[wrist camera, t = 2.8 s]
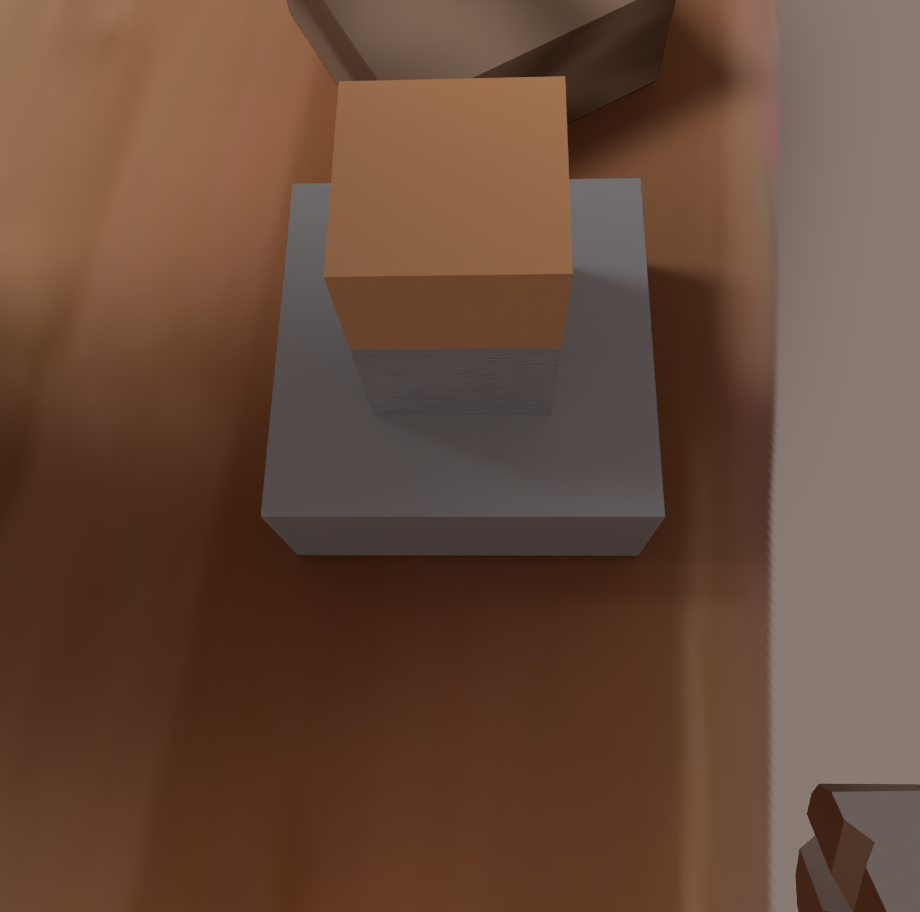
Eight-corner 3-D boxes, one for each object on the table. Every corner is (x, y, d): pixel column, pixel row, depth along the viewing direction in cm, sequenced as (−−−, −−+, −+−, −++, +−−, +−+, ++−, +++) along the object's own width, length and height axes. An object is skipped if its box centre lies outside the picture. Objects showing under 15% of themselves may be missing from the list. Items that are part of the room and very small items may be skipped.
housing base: (373, 415, 26) (349, 349, 22) (381, 263, 28) (360, 175, 24) (551, 414, 26) (561, 347, 22) (547, 261, 28) (556, 171, 24)
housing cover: (349, 349, 22) (323, 277, 19) (360, 175, 24) (339, 81, 21) (561, 347, 22) (572, 273, 18) (556, 171, 24) (565, 76, 20)
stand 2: (297, 555, 30) (260, 516, 25) (320, 263, 34) (292, 184, 29) (638, 555, 29) (665, 516, 25) (620, 259, 34) (640, 177, 29)
